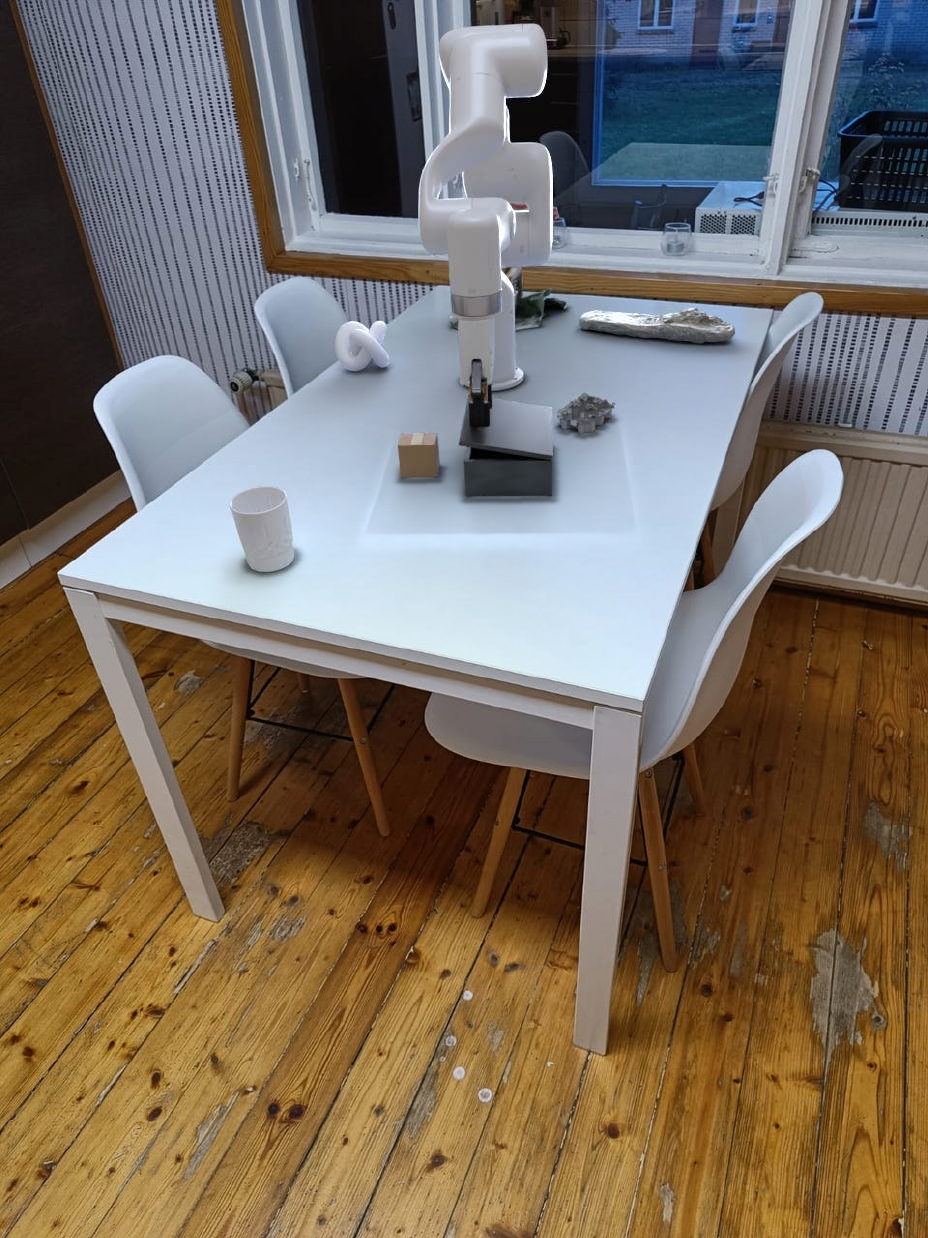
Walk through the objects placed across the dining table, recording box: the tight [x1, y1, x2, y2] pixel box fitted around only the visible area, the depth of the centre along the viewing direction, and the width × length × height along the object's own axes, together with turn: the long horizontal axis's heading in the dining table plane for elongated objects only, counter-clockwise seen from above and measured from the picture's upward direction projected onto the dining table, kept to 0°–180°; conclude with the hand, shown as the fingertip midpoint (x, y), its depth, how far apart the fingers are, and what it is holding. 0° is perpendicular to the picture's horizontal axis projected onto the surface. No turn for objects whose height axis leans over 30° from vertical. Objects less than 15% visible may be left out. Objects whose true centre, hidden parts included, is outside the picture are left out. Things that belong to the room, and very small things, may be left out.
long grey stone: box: [578, 307, 736, 345], centre depth 191 cm, size 35×5×10 cm
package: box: [397, 432, 441, 478], centre depth 142 cm, size 6×4×7 cm
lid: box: [458, 387, 554, 461], centre depth 136 cm, size 14×18×5 cm
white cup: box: [228, 485, 295, 573], centre depth 122 cm, size 8×8×10 cm
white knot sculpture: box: [334, 320, 390, 372], centre depth 183 cm, size 11×12×9 cm
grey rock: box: [556, 392, 616, 434], centre depth 155 cm, size 11×8×4 cm
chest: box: [463, 446, 553, 498], centre depth 140 cm, size 14×18×7 cm
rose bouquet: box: [448, 203, 569, 331], centre depth 198 cm, size 26×29×30 cm
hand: (481, 416), depth 137 cm, fingers closed on lid, 6 cm apart
